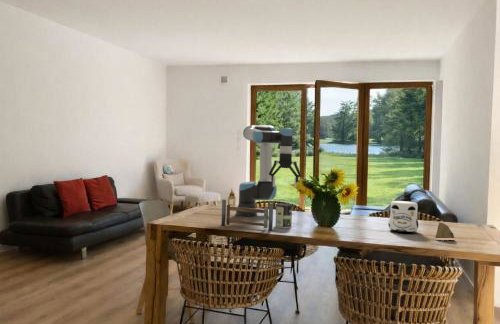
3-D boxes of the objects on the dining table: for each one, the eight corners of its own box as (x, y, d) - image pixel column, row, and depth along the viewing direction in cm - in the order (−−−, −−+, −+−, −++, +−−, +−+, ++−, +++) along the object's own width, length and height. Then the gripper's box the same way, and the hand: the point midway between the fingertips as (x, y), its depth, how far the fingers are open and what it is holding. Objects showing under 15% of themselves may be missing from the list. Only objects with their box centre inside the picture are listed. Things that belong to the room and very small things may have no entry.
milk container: (397, 235, 250) (399, 204, 249) (382, 228, 267) (384, 200, 266) (423, 234, 253) (425, 204, 252) (407, 228, 270) (409, 200, 269)
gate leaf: (227, 224, 261) (227, 204, 260) (267, 227, 253) (268, 208, 252) (225, 224, 259) (226, 205, 258) (266, 228, 251) (267, 208, 251)
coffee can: (292, 225, 267) (293, 203, 267) (290, 228, 257) (291, 205, 257) (276, 224, 270) (276, 202, 269) (273, 227, 259) (274, 204, 259)
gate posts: (222, 225, 262) (223, 199, 261) (272, 230, 252) (273, 203, 252) (220, 225, 260) (221, 199, 259) (271, 230, 250) (272, 203, 249)
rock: (456, 235, 242) (438, 231, 247) (458, 225, 237) (439, 221, 242) (452, 249, 235) (433, 244, 240) (454, 239, 230) (434, 234, 235)
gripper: (264, 152, 261) (263, 186, 262) (304, 154, 254) (303, 189, 255) (267, 152, 269) (266, 185, 270) (306, 153, 261) (305, 187, 262)
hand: (284, 187), depth 262 cm, fingers open, 13 cm apart
